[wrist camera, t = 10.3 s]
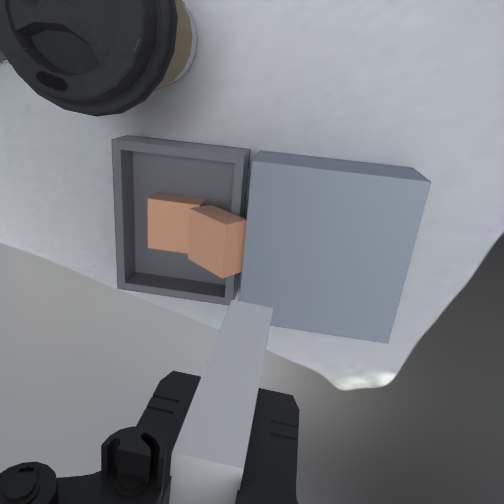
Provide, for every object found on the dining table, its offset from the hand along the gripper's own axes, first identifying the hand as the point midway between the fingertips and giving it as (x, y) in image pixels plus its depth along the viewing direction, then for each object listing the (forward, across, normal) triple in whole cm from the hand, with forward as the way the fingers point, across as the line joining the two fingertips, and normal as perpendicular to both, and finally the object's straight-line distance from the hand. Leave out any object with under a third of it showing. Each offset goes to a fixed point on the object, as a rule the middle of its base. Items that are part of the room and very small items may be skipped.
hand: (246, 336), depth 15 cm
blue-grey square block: (+26, +4, -4) cm, 27 cm away
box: (+26, -10, -5) cm, 29 cm away
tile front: (+23, -5, -5) cm, 24 cm away
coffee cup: (+27, -14, +11) cm, 32 cm away
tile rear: (+23, -10, -5) cm, 26 cm away
